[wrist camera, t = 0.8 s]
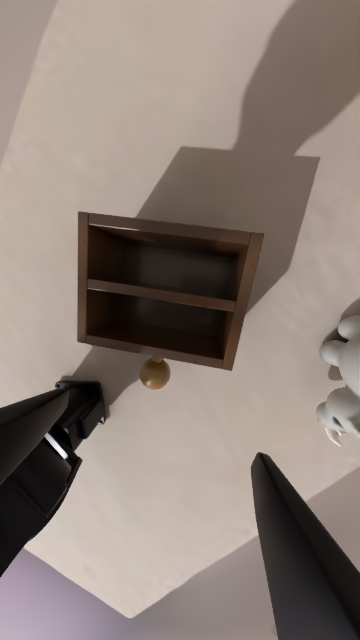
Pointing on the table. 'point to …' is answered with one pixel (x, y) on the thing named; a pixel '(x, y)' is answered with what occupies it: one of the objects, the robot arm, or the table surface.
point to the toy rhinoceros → (356, 370)
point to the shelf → (164, 290)
